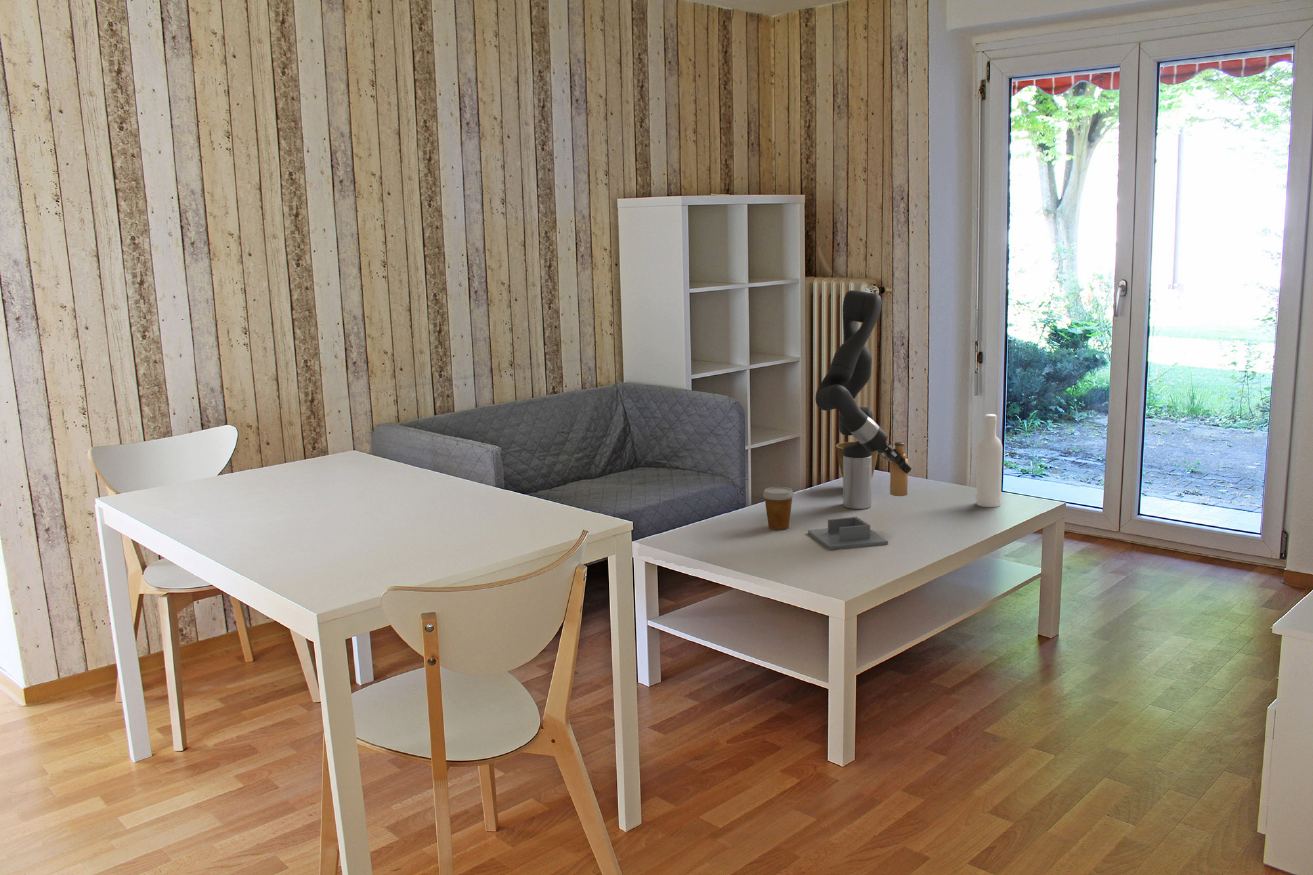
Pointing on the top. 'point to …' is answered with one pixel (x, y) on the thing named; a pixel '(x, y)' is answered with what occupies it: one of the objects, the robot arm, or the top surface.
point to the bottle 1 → (898, 474)
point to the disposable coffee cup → (778, 507)
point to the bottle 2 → (989, 466)
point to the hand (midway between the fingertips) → (904, 469)
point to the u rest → (847, 534)
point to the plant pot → (840, 456)
